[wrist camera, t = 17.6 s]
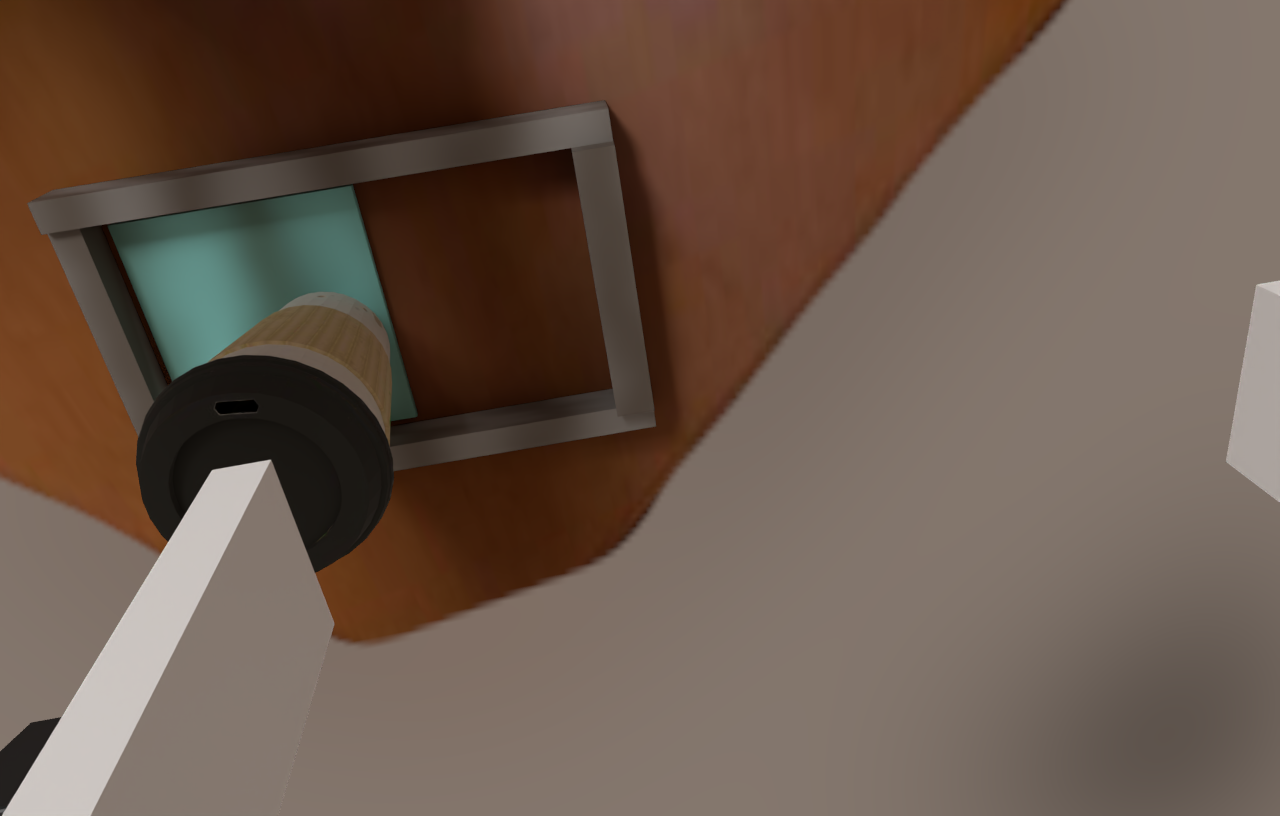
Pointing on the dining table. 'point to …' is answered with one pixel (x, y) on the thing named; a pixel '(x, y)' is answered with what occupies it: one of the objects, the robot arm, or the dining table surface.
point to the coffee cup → (284, 422)
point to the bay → (332, 268)
